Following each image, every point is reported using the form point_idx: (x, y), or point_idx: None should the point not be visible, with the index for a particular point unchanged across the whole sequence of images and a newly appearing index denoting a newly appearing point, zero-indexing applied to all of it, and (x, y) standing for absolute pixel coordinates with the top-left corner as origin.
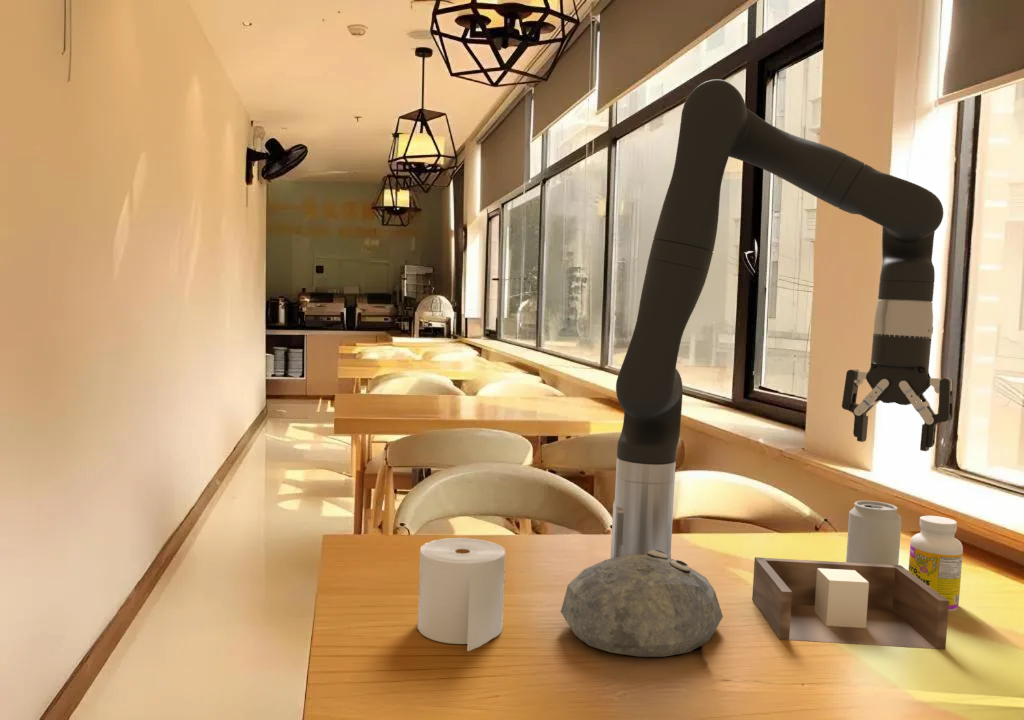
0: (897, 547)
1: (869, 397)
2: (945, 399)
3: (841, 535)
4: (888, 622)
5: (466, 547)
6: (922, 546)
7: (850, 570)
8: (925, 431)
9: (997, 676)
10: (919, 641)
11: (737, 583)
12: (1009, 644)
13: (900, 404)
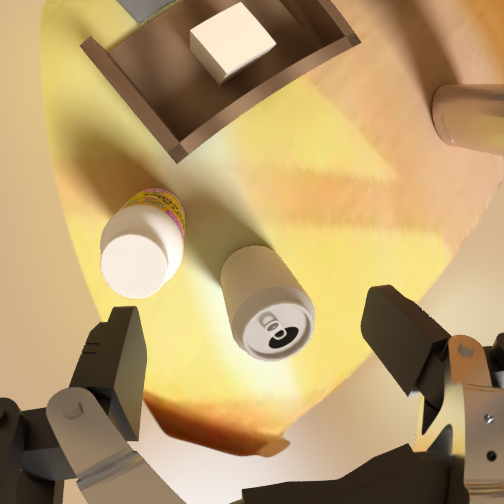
0: (225, 298)
1: (493, 410)
2: None
3: (321, 391)
4: (172, 90)
5: None
6: (151, 208)
7: (231, 67)
8: (100, 359)
9: (53, 57)
10: (126, 58)
11: (371, 123)
12: (57, 162)
13: (285, 483)
